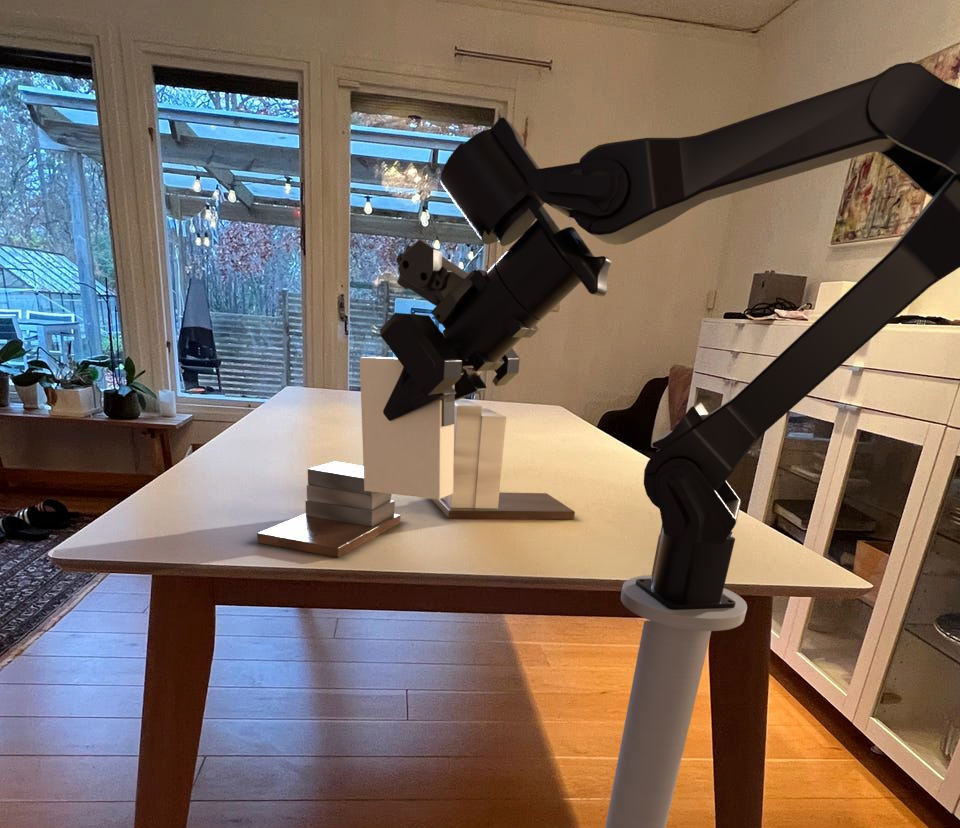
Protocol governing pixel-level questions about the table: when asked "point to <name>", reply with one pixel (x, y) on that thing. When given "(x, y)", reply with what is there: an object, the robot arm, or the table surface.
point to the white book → (404, 438)
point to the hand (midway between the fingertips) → (395, 415)
